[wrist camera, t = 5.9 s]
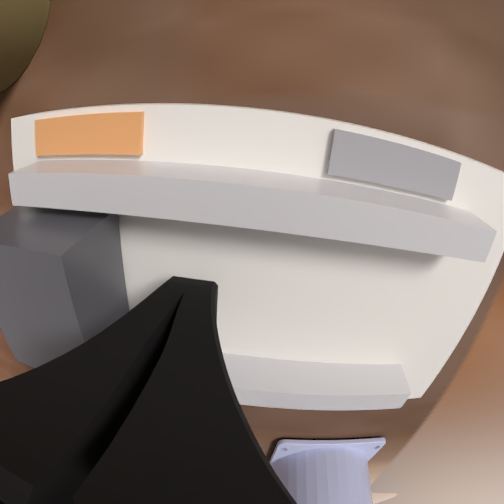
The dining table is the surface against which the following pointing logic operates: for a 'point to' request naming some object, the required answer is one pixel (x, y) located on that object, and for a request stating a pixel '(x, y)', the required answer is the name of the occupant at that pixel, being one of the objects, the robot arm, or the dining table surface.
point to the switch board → (284, 236)
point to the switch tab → (58, 280)
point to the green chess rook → (20, 36)
